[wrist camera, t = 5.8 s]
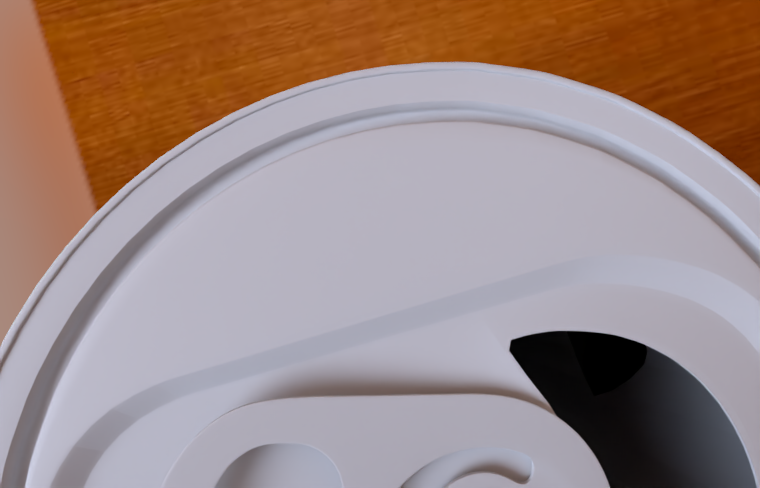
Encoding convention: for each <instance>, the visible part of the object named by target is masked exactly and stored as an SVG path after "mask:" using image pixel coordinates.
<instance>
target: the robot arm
mask: <svg viewBox="0 0 760 488" xmlns="http://www.w3.org/2000/svg"><path fill="white" fill-rule="evenodd" d="M567 333H568V336H569V338H570V341H571V344H572V346H573V349H574V351H575V354H576V357H577V359H578V362H579V364H580V367H581V369H582V372H583V374H584V376H585V378H586V380H587V382H588V385H589V387H590V389H591V391H592V392H593V394H594V395H595V396H596V395H599V394H602V393H605V392H608V391H611V390H614V389H615V388H617V387H618V386H620V385H621V384H623V383H624V382H626V381H627V380H629V379H631V378H632V376H633V375H634V374H635V373H636V372H637V371H638V370H639V369H640V368H641V367H642V366H643V365H644V363H645V359H646V355H647V348H646V345H644V344H642V343H639V342H636V341H634V340H630V339H627V338H624V337H620V336H616V335H611V334H604V333H597V332H585V331H567Z"/></svg>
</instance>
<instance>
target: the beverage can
mask: <svg viewBox="0 0 760 488" xmlns="http://www.w3.org/2000/svg"><path fill="white" fill-rule="evenodd" d="M567 331H585V332H597V333H604V334H611V335H616V336H620V337H624V338H627V339H630V340H634V341H636V342H639V343H642V344H644V345H646V348H647V355H646V359H645V363H644V365H643V366H642V367H641V368H640V369H639V370H638V371H637V372H636V373H635V374H634V375H633V376H632V378H631V379H629V380H627V381H626V382H624V383H623V384H621V385H620V386H618V387H617V388H615V389H614V390H611V391H608V392H605V393H602V394H599V395H596V396H595V395H594V394H593V392H592V391H591V389H590V387H589V385H588V382H587V380H586V378H585V376H584V374H583V372H582V369H581V367H580V364H579V362H578V359H577V357H576V354H575V351H574V349H573V346H572V344H571V341H570V338H569V336H568V333H567ZM0 488H760V186H759V185H758V184H757V183H756V182H755V181H754V180H753V179H751V178H750V177H749V176H748V175H747V174H746V173H745V172H743V171H742V170H741V169H739V168H738V167H737V166H736V165H734V164H733V163H732V162H730V161H729V160H728V159H726V158H725V157H724V156H723V155H721V154H720V153H719V152H717V151H716V150H714V149H713V148H712V147H710V146H709V145H707V144H706V143H704V142H703V141H702V140H700V139H699V138H697V137H696V136H694V135H693V134H692V133H690V132H688V131H687V130H685V129H683V128H682V127H680V126H678V125H677V124H675V123H673V122H672V121H670V120H668V119H666V118H664V117H662V116H660V115H658V114H656V113H654V112H652V111H650V110H648V109H646V108H644V107H642V106H640V105H638V104H636V103H634V102H632V101H630V100H627V99H625V98H623V97H621V96H619V95H616V94H613V93H610V92H608V91H605V90H602V89H599V88H596V87H593V86H589V85H586V84H583V83H580V82H577V81H574V80H570V79H567V78H564V77H560V76H557V75H553V74H549V73H545V72H540V71H535V70H529V69H522V68H515V67H507V66H500V65H493V64H485V63H475V62H430V63H416V64H403V65H391V66H384V67H378V68H372V69H366V70H360V71H354V72H348V73H344V74H340V75H336V76H332V77H328V78H325V79H321V80H317V81H313V82H309V83H306V84H303V85H301V86H298V87H295V88H292V89H289V90H286V91H283V92H280V93H278V94H275V95H272V96H269V97H267V98H265V99H263V100H260V101H258V102H256V103H254V104H251V105H249V106H247V107H245V108H243V109H240V110H238V111H236V112H234V113H232V114H230V115H228V116H226V117H224V118H223V119H221V120H219V121H217V122H215V123H214V124H212V125H210V126H208V127H206V128H205V129H203V130H201V131H199V132H197V133H196V134H194V135H193V136H191V137H190V138H188V139H187V140H185V141H184V142H182V143H181V144H179V145H178V146H176V147H175V148H173V149H172V150H170V151H169V152H167V153H166V154H164V155H163V156H161V157H160V158H159V159H157V160H156V161H155V162H154V163H152V164H151V165H150V166H149V167H147V168H146V169H145V170H144V171H142V172H141V173H140V174H139V175H137V176H136V177H135V178H134V179H132V180H131V181H130V182H129V183H127V184H126V185H125V186H124V187H123V188H122V189H121V190H120V191H119V192H118V193H117V194H116V195H114V196H113V197H112V198H111V199H110V200H109V201H108V202H107V203H106V204H105V205H104V206H103V207H102V208H101V209H100V210H99V211H98V212H97V213H96V214H94V215H93V217H92V218H91V219H90V220H89V221H88V222H87V223H86V225H85V226H84V227H83V228H82V229H81V230H80V231H79V233H78V234H77V235H76V236H75V237H74V238H73V239H72V240H71V241H70V242H69V244H68V245H67V246H66V247H65V248H64V249H63V251H62V252H61V253H60V255H59V256H58V257H57V259H56V260H55V261H54V263H53V264H52V266H51V267H50V268H49V269H48V271H47V272H46V273H45V275H44V276H43V277H42V279H41V280H40V281H39V283H38V284H37V285H36V287H35V289H34V290H33V292H32V293H31V295H30V297H29V298H28V300H27V301H26V303H25V305H24V306H23V308H22V309H21V311H20V313H19V314H18V316H17V318H16V319H15V321H14V322H13V324H12V326H11V327H10V329H9V331H8V333H7V335H6V337H5V339H4V341H3V342H2V344H1V346H0Z"/></svg>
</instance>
